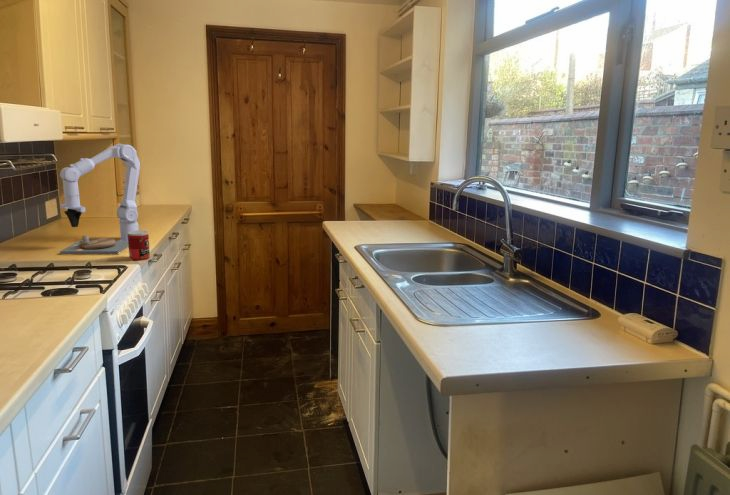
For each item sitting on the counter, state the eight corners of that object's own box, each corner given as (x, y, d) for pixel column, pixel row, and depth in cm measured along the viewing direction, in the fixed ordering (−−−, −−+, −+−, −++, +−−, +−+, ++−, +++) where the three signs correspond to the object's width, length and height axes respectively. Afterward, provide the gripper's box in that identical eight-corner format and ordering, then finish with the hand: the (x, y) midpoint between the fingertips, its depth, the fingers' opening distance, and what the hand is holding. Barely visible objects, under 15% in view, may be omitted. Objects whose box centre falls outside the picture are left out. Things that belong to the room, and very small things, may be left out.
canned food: (143, 261, 223) (141, 234, 220) (125, 259, 224) (123, 233, 222) (153, 256, 230) (152, 231, 228) (136, 255, 232) (134, 229, 229)
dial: (72, 246, 236) (70, 234, 235) (99, 240, 248) (98, 229, 247) (95, 250, 230) (94, 238, 229) (122, 243, 243) (121, 232, 241)
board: (79, 243, 248) (78, 240, 247) (132, 244, 250) (131, 240, 250) (60, 254, 229) (60, 250, 229) (117, 254, 232) (117, 250, 231)
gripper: (52, 195, 236) (56, 226, 239) (73, 198, 229) (76, 230, 232) (68, 193, 242) (71, 223, 245) (88, 196, 235) (91, 227, 238)
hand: (74, 226), depth 239 cm, fingers closed
